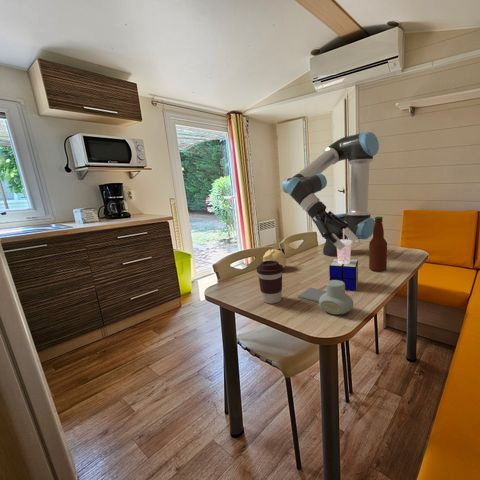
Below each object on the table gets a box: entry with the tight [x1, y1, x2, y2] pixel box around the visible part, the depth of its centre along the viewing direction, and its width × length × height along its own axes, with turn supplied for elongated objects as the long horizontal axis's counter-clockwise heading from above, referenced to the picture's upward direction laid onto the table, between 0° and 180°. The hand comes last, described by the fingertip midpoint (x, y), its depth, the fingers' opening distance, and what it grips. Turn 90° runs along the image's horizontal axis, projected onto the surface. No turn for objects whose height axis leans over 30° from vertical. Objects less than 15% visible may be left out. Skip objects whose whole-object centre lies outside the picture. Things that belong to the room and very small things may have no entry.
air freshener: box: [318, 279, 354, 315], centre depth 88 cm, size 11×8×10 cm
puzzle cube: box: [328, 258, 359, 292], centre depth 108 cm, size 10×10×10 cm
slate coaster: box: [297, 287, 326, 304], centre depth 102 cm, size 10×10×1 cm
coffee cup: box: [256, 260, 284, 305], centre depth 100 cm, size 10×10×15 cm
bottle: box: [368, 216, 388, 273], centre depth 121 cm, size 7×7×25 cm
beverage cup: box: [336, 229, 353, 264], centre depth 106 cm, size 6×6×14 cm
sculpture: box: [262, 248, 287, 269], centre depth 137 cm, size 12×12×11 cm
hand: (349, 244), depth 104 cm, fingers open, 13 cm apart
